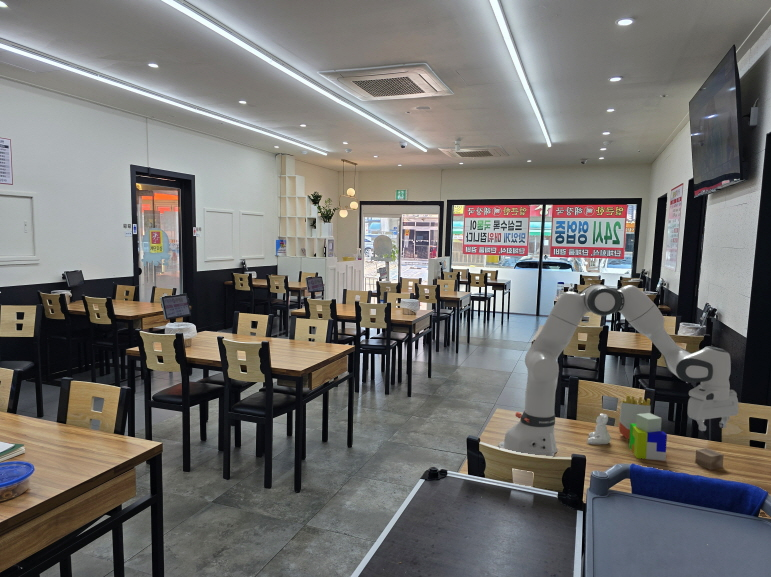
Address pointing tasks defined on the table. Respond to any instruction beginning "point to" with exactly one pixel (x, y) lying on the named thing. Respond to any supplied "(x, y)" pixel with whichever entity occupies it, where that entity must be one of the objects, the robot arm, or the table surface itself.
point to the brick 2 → (709, 458)
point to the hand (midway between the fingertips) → (712, 428)
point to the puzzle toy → (648, 443)
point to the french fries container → (631, 413)
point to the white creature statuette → (600, 432)
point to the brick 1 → (648, 422)
